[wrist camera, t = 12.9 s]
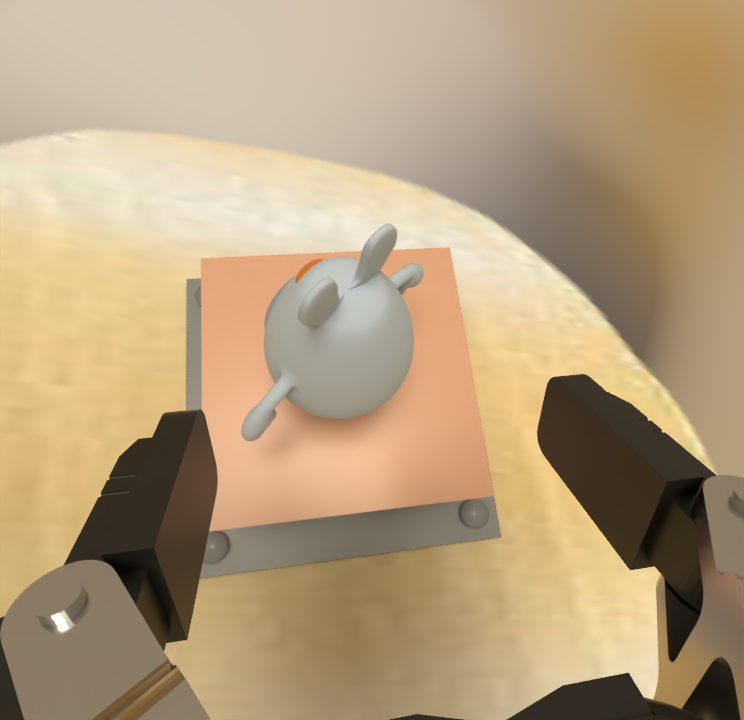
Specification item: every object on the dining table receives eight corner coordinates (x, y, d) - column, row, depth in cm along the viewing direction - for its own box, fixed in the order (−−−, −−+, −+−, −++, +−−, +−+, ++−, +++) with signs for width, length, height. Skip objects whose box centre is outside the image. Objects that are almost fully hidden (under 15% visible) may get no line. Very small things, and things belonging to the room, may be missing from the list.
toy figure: (361, 270, 25) (397, 82, 13) (444, 345, 24) (556, 214, 13) (214, 403, 22) (97, 308, 10) (303, 493, 21) (283, 498, 10)
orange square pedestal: (190, 577, 27) (130, 615, 19) (190, 285, 33) (144, 212, 24) (495, 535, 30) (564, 552, 22) (448, 271, 36) (489, 202, 27)
